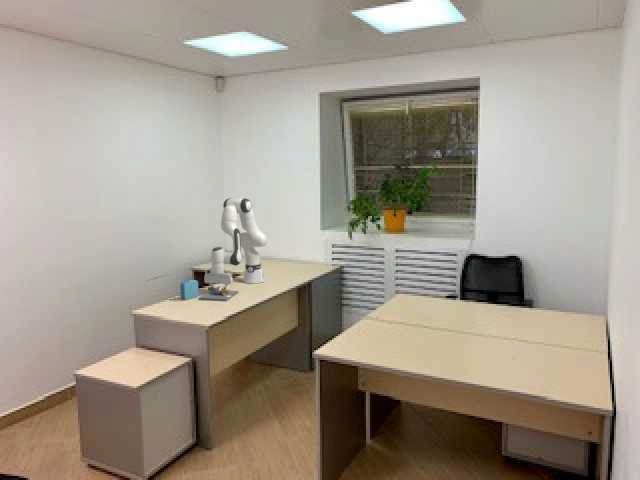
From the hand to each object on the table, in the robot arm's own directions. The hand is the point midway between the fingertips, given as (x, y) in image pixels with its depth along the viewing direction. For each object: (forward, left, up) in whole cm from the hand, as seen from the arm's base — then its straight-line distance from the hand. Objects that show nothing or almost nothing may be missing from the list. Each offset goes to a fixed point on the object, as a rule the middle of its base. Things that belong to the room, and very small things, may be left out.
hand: (219, 289), depth 345 cm
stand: (+5, +2, -4) cm, 6 cm away
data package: (+13, -16, -4) cm, 21 cm away
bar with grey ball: (+5, +2, -2) cm, 6 cm away
